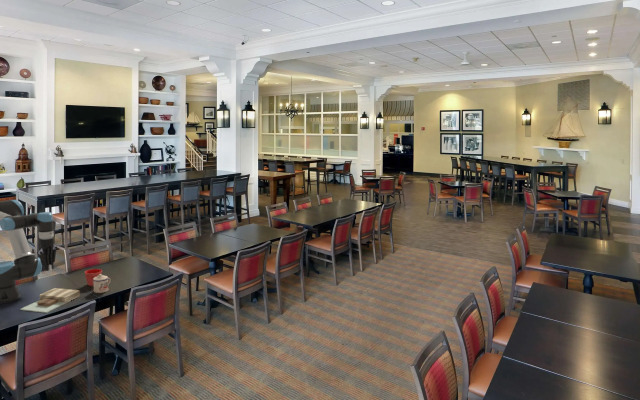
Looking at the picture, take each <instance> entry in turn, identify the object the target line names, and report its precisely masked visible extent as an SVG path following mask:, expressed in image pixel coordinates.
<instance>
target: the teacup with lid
mask: <svg viewBox="0 0 640 400" xmlns="http://www.w3.org/2000/svg"><path fill="white" fill-rule="evenodd" d="M93 283H94V286H93V293H96V294H103V293H106V292H108V291H109V285H110V284H111V278H110V277H108V276H107V275H103V273H102V274H99V276H97V277H95V278H93Z"/></svg>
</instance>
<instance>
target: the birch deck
mask: <svg viewBox="0 0 640 400" xmlns="http://www.w3.org/2000/svg"><path fill="white" fill-rule="evenodd" d="M80 296H81V294H80V290H78V289H70V288H69V289H68V288H59V287H58V288H57V287H54V288H52V289H50V290H47V291H45V292H43V293H41V294H39V300H43V299H45V298H53V299H58V302H63V303H65V304H64V305H66V304H68V303H69V302H71V300H72V301H73V299H74V300H76V299H77V298H79V297H80Z"/></svg>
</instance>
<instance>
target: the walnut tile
mask: <svg viewBox="0 0 640 400" xmlns="http://www.w3.org/2000/svg"><path fill="white" fill-rule="evenodd" d="M38 301H39V300H38ZM36 302H37V301H36ZM57 302H58V299H53V298H45V299H43V300H41V301H39V302H37V305H39V306H48V307H49V306H51V305H53V304H55V303H57Z"/></svg>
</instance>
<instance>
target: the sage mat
mask: <svg viewBox="0 0 640 400" xmlns="http://www.w3.org/2000/svg"><path fill="white" fill-rule="evenodd" d="M39 301H41V300H40V299H39V300H37V301H35V302H33V303H30V304H28V305H25V306H23V307H22V308H19V309H20V311H26V312H34V313H35V312H36V313H42V314H43V313H44V314H48V313H50V312H52V311H54V310H56V309H57V308H60V307H62V306H64V305H66V304H65V303H63V302H57V303H55V304H53V305H51V306H49V307H48V306H39V305H37V302H39Z"/></svg>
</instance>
